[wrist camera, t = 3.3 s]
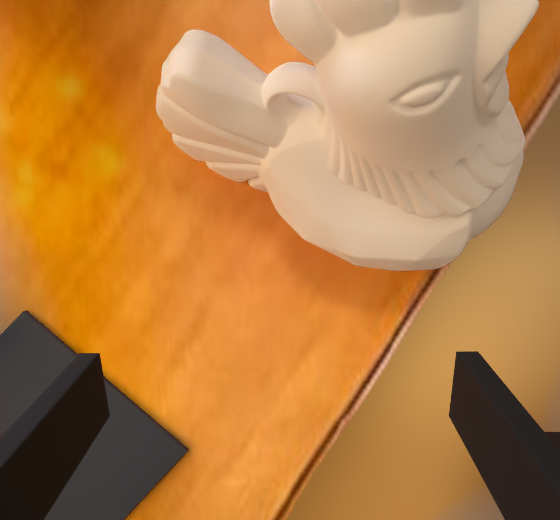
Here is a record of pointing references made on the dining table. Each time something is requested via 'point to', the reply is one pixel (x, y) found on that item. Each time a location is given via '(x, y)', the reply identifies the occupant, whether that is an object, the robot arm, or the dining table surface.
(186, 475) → the dining table surface
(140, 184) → the dining table surface
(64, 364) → the placemat
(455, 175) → the decorative rooster
